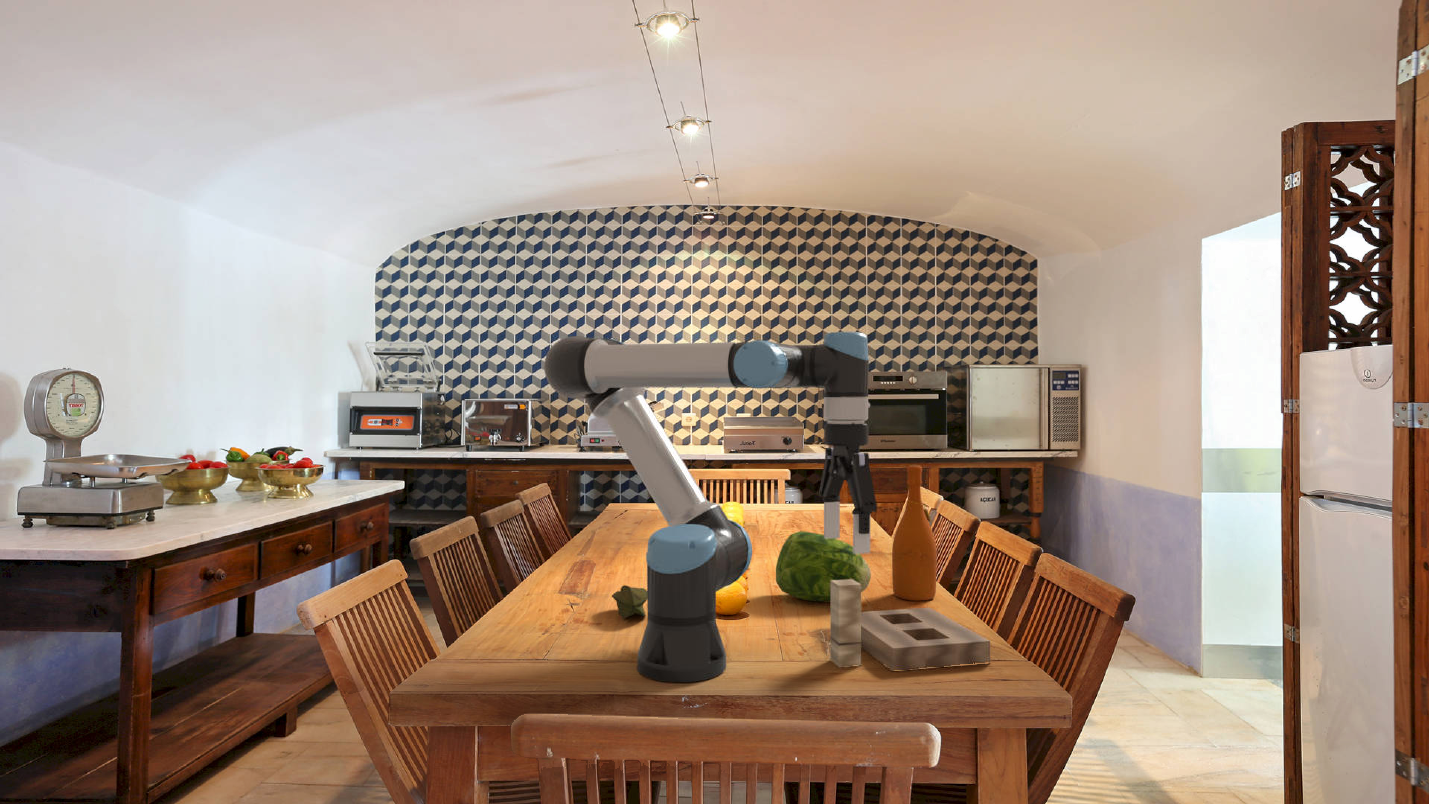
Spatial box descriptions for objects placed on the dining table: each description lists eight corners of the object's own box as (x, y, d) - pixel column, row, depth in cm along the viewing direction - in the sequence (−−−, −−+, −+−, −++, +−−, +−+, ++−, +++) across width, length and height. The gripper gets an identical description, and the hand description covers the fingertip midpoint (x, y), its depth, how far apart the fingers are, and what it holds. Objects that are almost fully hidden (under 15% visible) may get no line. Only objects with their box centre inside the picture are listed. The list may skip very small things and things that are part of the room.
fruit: (668, 613, 173) (667, 582, 173) (636, 628, 163) (636, 595, 163) (623, 607, 179) (622, 576, 179) (589, 620, 168) (589, 588, 168)
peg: (838, 668, 139) (838, 585, 139) (830, 660, 143) (830, 580, 143) (861, 666, 140) (861, 584, 140) (852, 658, 144) (852, 579, 144)
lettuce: (867, 623, 175) (887, 554, 177) (774, 592, 175) (795, 523, 177) (850, 613, 191) (869, 550, 193) (765, 585, 191) (785, 522, 193)
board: (892, 672, 137) (892, 648, 137) (843, 633, 159) (844, 613, 159) (990, 664, 141) (990, 641, 141) (929, 627, 163) (929, 607, 163)
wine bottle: (937, 603, 181) (938, 467, 180) (892, 601, 183) (892, 466, 182) (935, 592, 191) (935, 463, 190) (891, 590, 193) (892, 462, 192)
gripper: (898, 425, 130) (898, 558, 130) (839, 419, 154) (839, 531, 155) (853, 425, 128) (853, 561, 129) (801, 419, 153) (801, 533, 153)
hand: (846, 545), depth 142 cm, fingers open, 13 cm apart
